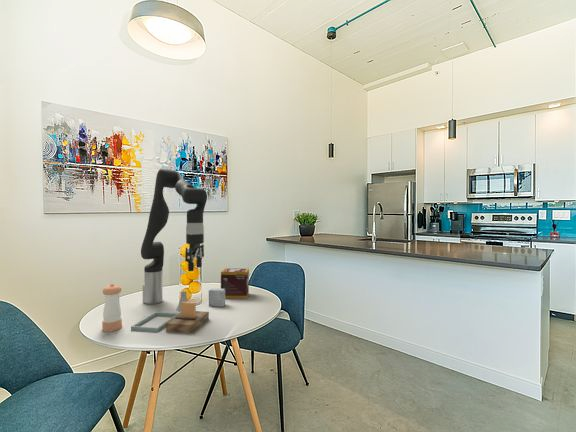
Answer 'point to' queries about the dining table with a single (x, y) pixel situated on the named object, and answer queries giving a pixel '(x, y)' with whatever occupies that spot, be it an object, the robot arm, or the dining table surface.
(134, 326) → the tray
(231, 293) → the supplement box
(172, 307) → the dining table surface
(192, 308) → the tan rectangular block
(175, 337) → the dining table surface
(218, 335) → the dining table surface
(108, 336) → the dining table surface
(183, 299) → the flask
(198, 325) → the slotted wooden block
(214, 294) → the grey cube
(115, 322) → the pepper shaker
